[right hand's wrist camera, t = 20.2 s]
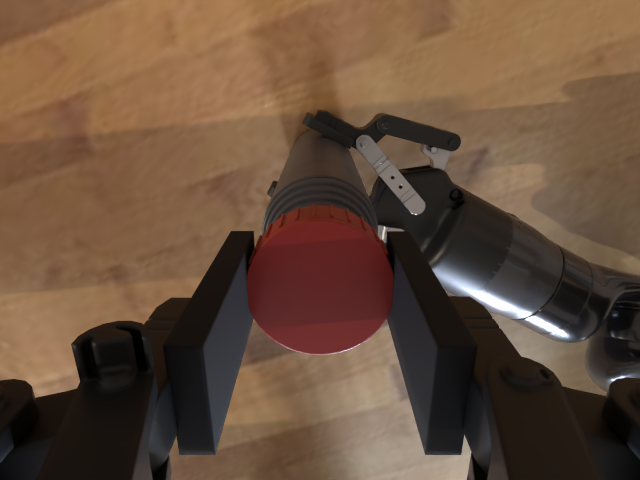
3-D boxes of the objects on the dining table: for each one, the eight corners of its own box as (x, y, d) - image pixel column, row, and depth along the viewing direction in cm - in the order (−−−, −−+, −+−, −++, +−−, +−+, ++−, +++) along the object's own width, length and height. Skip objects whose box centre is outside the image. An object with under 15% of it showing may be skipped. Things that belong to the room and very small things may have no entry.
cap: (249, 322, 15) (240, 350, 14) (254, 196, 14) (245, 211, 12) (377, 333, 15) (384, 362, 14) (398, 209, 14) (408, 226, 12)
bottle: (291, 183, 37) (245, 344, 14) (292, 125, 36) (240, 204, 13) (346, 185, 37) (390, 349, 14) (350, 128, 36) (405, 210, 13)
